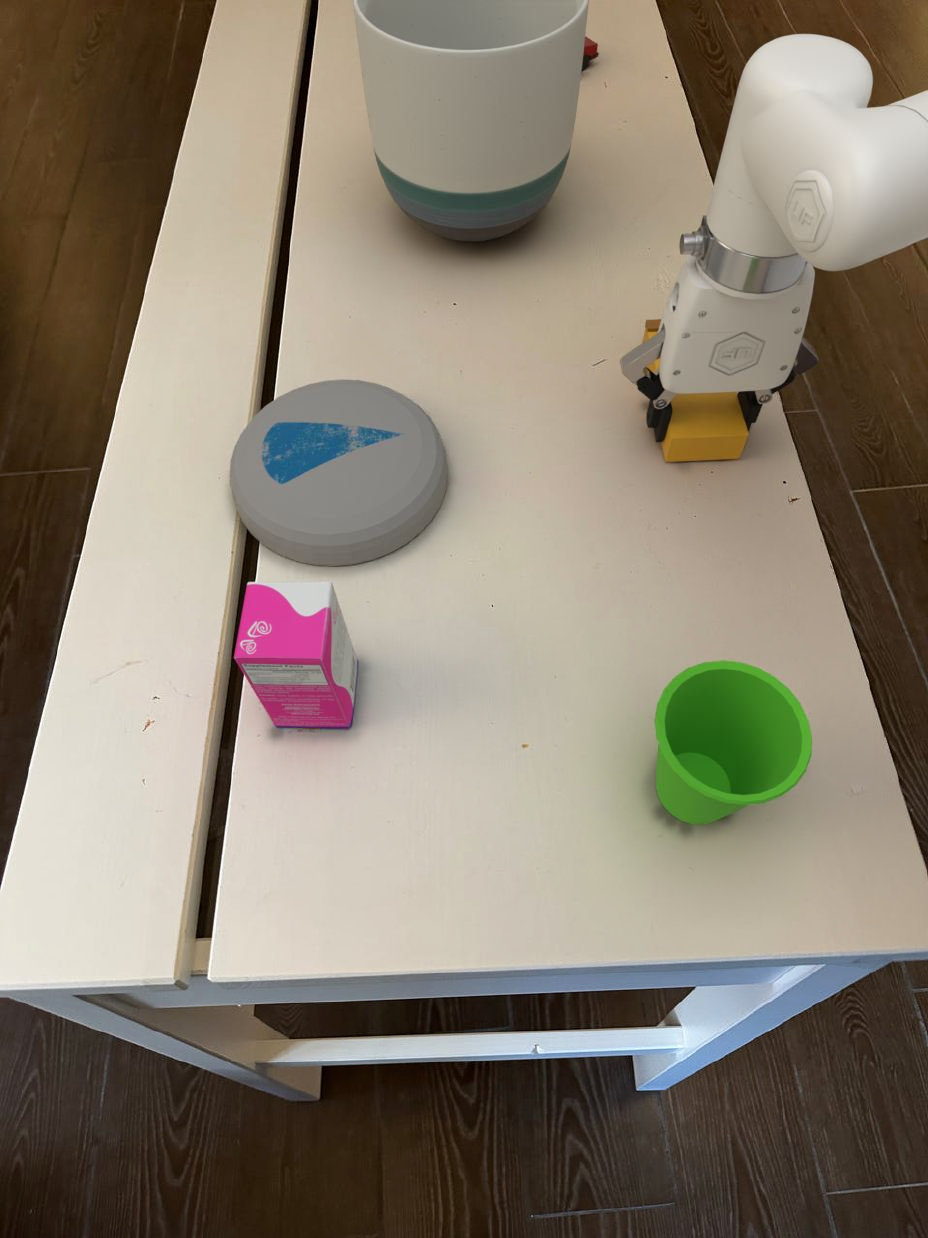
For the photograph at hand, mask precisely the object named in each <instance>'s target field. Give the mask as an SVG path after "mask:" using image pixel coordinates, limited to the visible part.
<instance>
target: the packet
mask: <svg viewBox="0 0 928 1238" xmlns="http://www.w3.org/2000/svg"><path fill="white" fill-rule="evenodd" d="M661 319H662V318H657V319H656V318H655V319H646V320H645V325H644V331H643V338H642V342H641V344H642V343H644V342H645V341H647V340H648V339H650V338H651V337H653V336H654V335H656V334H657V333H658V329H659V326H660V322H661ZM659 367H660V358H659V359H657V360H656V361H654V362H653V363H651V364H650V365H648V366H647V368H649V369H650V370H651V371H652V372H653V373H655V372H656V370H657V369H658V368H659ZM737 394H738V392H718V393H692V394H680V393H678V394H677V395H676V396H675V397H674V398H673V400H672V401H671V404H672V409H673V412H672V416H671V420H670V423H669V425H668V428H667V432H666V436H665V439H664V440H663V442H660V445H661V448H662V453H663V457H664V462H665V463H674V462H694V461H695V462H696V461H697V462H698V461H716V460H739V459H741V457H742V453H743V452H744V448H745V446H746V444H747V440H748V438H749V436H750V434H749V433H748V430H747V427H746V423H745V421H744V418H743V414H742V411H741V407H740V404H739V400H738V397H737Z"/></svg>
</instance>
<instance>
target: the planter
mask: <svg viewBox="0 0 928 1238" xmlns="http://www.w3.org/2000/svg"><path fill="white" fill-rule="evenodd" d="M352 2H353V12H354V21H355V30H356V38H357V47H358V56H359V62H360V71H361V77H362V85H363V92H364V101H365V107H366V113H367V120H368V126H369V132H370V137H371V144H372V149H373V153H374V156H375V160H376V164H377V167H378V170H379V173H380V175H381V178H382V180H383V183H384V185H385V187H386V189H387V191H388V193H389V195H390V196H391V198H392V200H393V201H394V203H395V204H396V205H397V207H398V208H399V209H400V210H401V211H402V212H403V213H404V214H405V215H406V216H407V217H408V218H410V219H411V221H413V222H414V223H416V224H417V225H419V226H420V227H422V228H423V229H425V230H427V231H429V232H430V233H433V234H435V235H438V236H440V237H443V238H446V239H450V240H455V241H461V242H482V241H489V240H493V239H497V238H500V237H503V236H506V235H509V234H511V233H513V232H514V231H516V230H519V229H520V228H521V227H523V226H525V225H526V224H528V222H530V221H532V220H533V219H534V218H535V217H536V216H538V215H539V214H540V212H542V210H544V208H545V207H546V206H547V205H548V203H549V202H550V201H551V200H552V198H553V196H554V194H555V193H556V190H557V189H558V187H559V185H560V182H561V180H562V178H563V175H564V173H565V170H566V168H567V165H568V164H567V163H568V160H569V156H570V153H571V149H572V148H571V147H572V143H573V138H574V137H573V136H574V130H575V124H576V117H577V109H578V104H579V103H578V102H579V95H580V86H581V79H582V62H583V52H584V43H585V36H586V33H587V22H588V13H589V4H590V0H352Z"/></svg>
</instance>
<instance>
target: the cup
mask: <svg viewBox="0 0 928 1238" xmlns="http://www.w3.org/2000/svg"><path fill="white" fill-rule="evenodd" d="M654 727H655V737H656V740H657V743H658V745H657V757H656V770H655V771H656V773H655V789H656V794H657V796H658V799H659V801H660V803H661V804H662V806H663V808H664V809H665V810H666V811H667V812H668V813H669V814H670V815H671V816H672V817H674V818H676V819H677V820H679V821H681V822H683V823H687V824H690V825H697V826H701V825H709V824H711V823H715V822H717V821H718V820H720V819H722V818H725V817H727V816H729V815H731V814H733V813H735V812H737V811H740V810H741V809H742V810H743V809H744V808H746V807H749V806H750V805H758V804H759V805H760V804H766V803H768V802H770V801H773V800H776V799H779V798H781V797H783V796H784V795H785V794H786V793H788V792H790V791H791V790H792V789H793V788H795V787H796V786H797V784H798V783H799V782H800V780H801V779H802V778H803V777H804V775H805V774H806V772H807V769H808V766H809V763H810V760H811V758H812V751H813V749H812V748H813V735H812V731H811V725H810V721H809V719H808V717H807V714H806V713H805V710H804V707H803V706H802V704H801V702H800V701H799V700H798V699H797V697H796V696H795V694H793V692H792V691H791V690H790V688H788V687H787V686H786V685H785V684H784V683H783V682H781V680H779V679H778V678H777V677H776V676H774V675H772V674H771V673H768V672H767V671H765V670H763V669H761V668H759V667H757V666H755V665H751V664H748V663H745V662H741V661H733V660H723V659H722V660H713V661H703V662H701V663H698V664H695V665H693V666H690V667H688V668H686V669H684V670H683V671H681V672H680V673H679V674H677V675H675V676H674V677H673V678H672V679H671V680H670V682H669V683H668V684H667V685H666V686H665V687H664V689H663V690H662V693H661V695H660V697H659V699H658V701H657V704H656V708H655V716H654Z"/></svg>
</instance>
